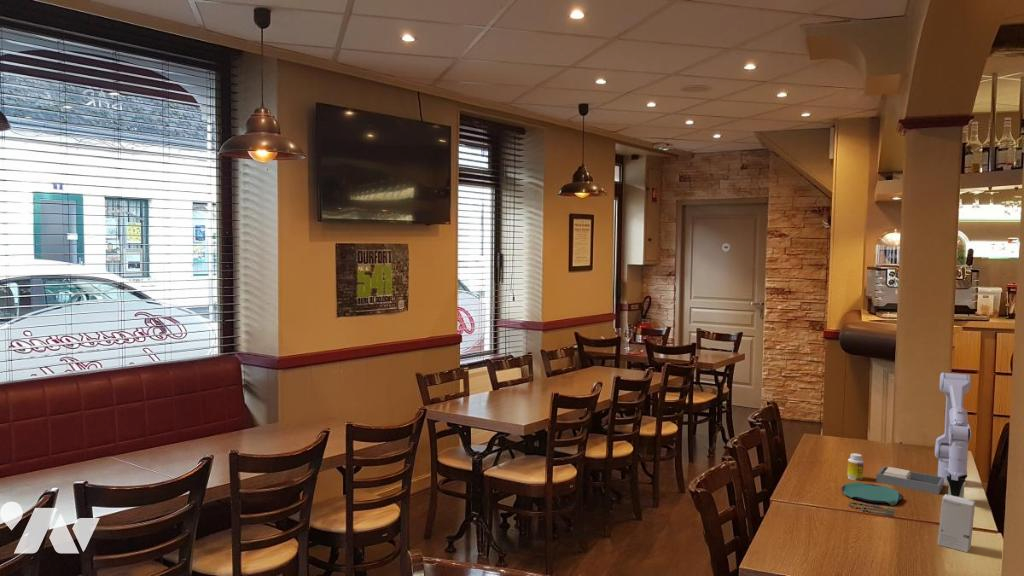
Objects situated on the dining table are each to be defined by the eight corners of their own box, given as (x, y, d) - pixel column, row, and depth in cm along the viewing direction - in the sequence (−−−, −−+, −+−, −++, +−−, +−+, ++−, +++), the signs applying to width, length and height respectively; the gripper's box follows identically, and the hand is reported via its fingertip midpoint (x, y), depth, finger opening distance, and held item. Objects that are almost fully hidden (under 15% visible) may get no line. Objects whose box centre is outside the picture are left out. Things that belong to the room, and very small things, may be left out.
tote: (883, 476, 286) (883, 466, 286) (943, 487, 273) (944, 477, 273) (876, 484, 276) (876, 473, 276) (938, 496, 263) (939, 485, 263)
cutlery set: (902, 493, 266) (902, 487, 266) (900, 520, 240) (900, 514, 240) (844, 484, 276) (844, 479, 276) (836, 509, 250) (836, 503, 250)
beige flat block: (887, 476, 283) (888, 466, 283) (910, 480, 279) (910, 470, 278) (883, 481, 276) (883, 471, 276) (906, 486, 271) (906, 476, 271)
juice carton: (949, 498, 262) (950, 476, 261) (963, 500, 259) (964, 479, 259) (947, 501, 258) (948, 479, 258) (962, 504, 255) (963, 482, 255)
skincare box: (937, 545, 218) (940, 497, 217) (941, 539, 223) (943, 492, 222) (969, 553, 213) (972, 504, 212) (972, 547, 217) (975, 499, 217)
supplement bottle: (857, 483, 276) (858, 457, 276) (844, 479, 281) (845, 453, 280) (865, 481, 279) (866, 455, 279) (852, 477, 284) (853, 451, 284)
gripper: (947, 451, 266) (945, 487, 267) (942, 460, 254) (940, 497, 255) (970, 455, 262) (968, 491, 262) (965, 464, 250) (963, 502, 251)
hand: (955, 495), depth 258 cm, fingers closed on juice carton, 4 cm apart
